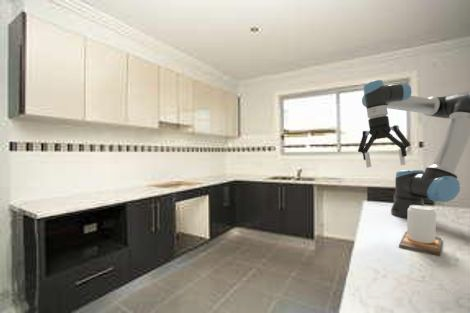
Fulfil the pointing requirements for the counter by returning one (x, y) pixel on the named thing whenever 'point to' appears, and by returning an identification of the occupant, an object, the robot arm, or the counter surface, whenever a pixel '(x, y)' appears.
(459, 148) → the robot arm
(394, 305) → the counter surface
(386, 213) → the counter surface
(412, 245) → the label board
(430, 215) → the beverage can
